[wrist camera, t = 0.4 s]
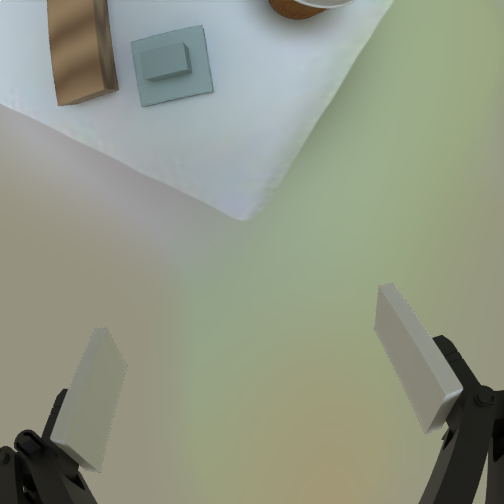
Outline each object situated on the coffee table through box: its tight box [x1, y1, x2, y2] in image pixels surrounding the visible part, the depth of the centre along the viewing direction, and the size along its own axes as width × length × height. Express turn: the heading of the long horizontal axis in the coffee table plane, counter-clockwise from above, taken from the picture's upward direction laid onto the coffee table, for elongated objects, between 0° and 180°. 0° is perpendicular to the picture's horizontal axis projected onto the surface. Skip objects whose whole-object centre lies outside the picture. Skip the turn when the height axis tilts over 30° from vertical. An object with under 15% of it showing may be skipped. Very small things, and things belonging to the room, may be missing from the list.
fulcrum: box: [131, 25, 214, 107], centre depth 28 cm, size 8×8×6 cm
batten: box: [47, 0, 119, 106], centre depth 25 cm, size 18×6×5 cm, turn 8°
